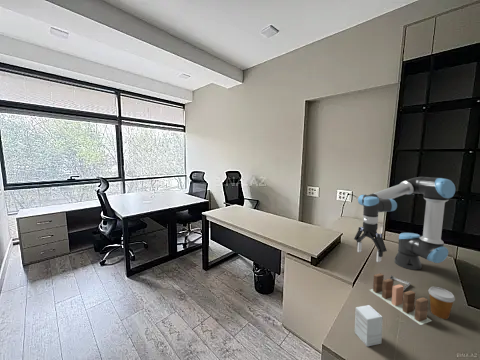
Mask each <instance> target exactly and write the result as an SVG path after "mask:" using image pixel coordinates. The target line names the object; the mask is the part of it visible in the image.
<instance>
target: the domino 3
mask: <svg viewBox="0 0 480 360" xmlns="http://www.w3.org/2000/svg"><path fill="white" fill-rule="evenodd" d="M404 287H405V286H404V285H402V284H401V283H399V284H395V285H393V288H392V304H393V305H395V306H397V305H400V304H403V297H404V291H403V290H404Z"/></svg>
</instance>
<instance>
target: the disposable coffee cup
mask: <svg viewBox="0 0 480 360" xmlns="http://www.w3.org/2000/svg"><path fill="white" fill-rule="evenodd" d="M427 290H428V291H427V292H428V294H429V304H430V306H429V307H430V312H431V314H433V315H434V316H435V317H437V318H440V319H443V320H447V319H449V317H450V316H451V315H450V313H451V311H452V308H453V304H454V302H455V301H456V297H455V295H454V294H453V292H451V291H450V290H447V289H445V288H444V287H443V288H442V287H439V286H430V287H429V289H427Z"/></svg>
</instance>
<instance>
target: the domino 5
mask: <svg viewBox="0 0 480 360" xmlns="http://www.w3.org/2000/svg"><path fill="white" fill-rule="evenodd" d="M428 307H429V299H428V298H425V297H424V296H423V297H420V298H417V299H416V298H415V304H414V309H415V318H414V319H416V320H417V321H419V322H420V321H423V320H425V319H427V318H428Z"/></svg>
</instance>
